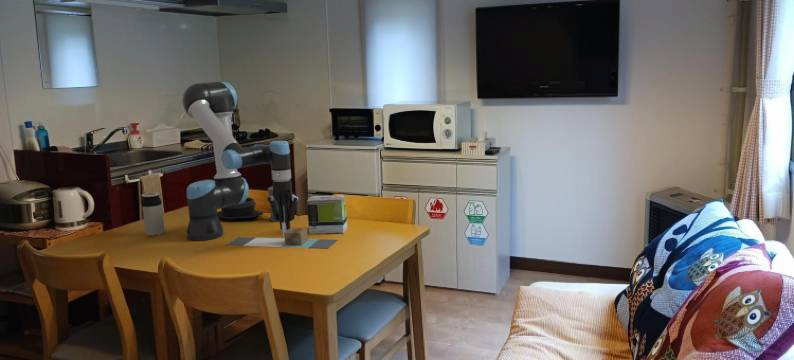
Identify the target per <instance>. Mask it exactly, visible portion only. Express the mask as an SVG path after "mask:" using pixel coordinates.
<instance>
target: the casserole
mask: <svg viewBox="0 0 794 360" xmlns="http://www.w3.org/2000/svg"><path fill="white" fill-rule="evenodd" d="M256 204H257V202H255V200H254V198H252V197H247V199H246V200H245V202H243V203H242V204H238V205H236V206H229V207H225V208H221V210H220V211H217V213H218V218H221V219H226V220H229V221H242V219H243V220H247V219H252V218H258V217H260V216H263V215H264V214H265V212H264V211H260V210H257V209H255V208H256V207H255V206H256Z"/></svg>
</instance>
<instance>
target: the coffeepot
mask: <svg viewBox="0 0 794 360" xmlns="http://www.w3.org/2000/svg"><path fill="white" fill-rule="evenodd" d="M267 192H268V197H270V196H272V193H273V185H272V186H269V187H268V188H267ZM275 203H276V206H277V209H278V205H277V201H276V200H275ZM283 208H284V205H283ZM278 213H279V212H278ZM284 219H285V212H284ZM269 220H270V221H271V222H272V223H273V222H274V223H280V222H279V221H276V220H275V218H274V215H273V212H272V208H271V207H270V217H269ZM284 221H285V220H284Z"/></svg>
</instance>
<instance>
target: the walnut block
mask: <svg viewBox="0 0 794 360" xmlns="http://www.w3.org/2000/svg"><path fill="white" fill-rule="evenodd" d="M308 232H309V231H308V228H292V227H290V229H289V230H288V231H286V232H285V233H284V236H285V245H303V244H304V243H306V242H307V241H308V239H309V238H308V237H309V233H308Z"/></svg>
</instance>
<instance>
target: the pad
mask: <svg viewBox="0 0 794 360" xmlns="http://www.w3.org/2000/svg"><path fill="white" fill-rule="evenodd" d="M319 239H320V238H315V239H314V238H308V241H307V242H306V243H304V244H303V245H285V244H283V245H282V246H280V247H279V248H301V249H302V248H303V249H304V248H305V249H307V248H308V249H310V248H309V247H310V246H311V245H313V244H314V243H315V242H316V241H318V240H319Z"/></svg>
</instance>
